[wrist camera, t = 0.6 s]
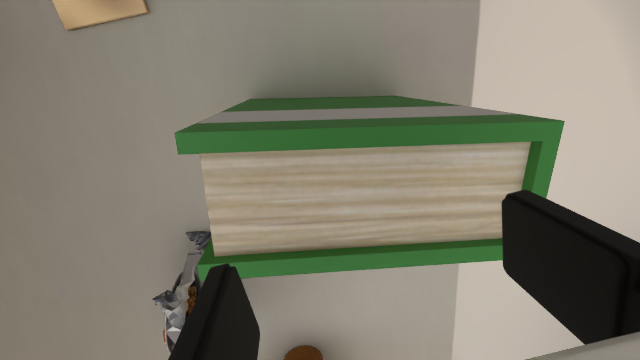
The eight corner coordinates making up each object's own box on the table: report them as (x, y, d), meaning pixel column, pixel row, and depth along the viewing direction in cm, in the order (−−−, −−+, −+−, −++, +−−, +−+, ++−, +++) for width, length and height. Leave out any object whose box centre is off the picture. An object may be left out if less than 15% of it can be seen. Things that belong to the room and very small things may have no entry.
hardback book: (255, 160, 38) (199, 280, 15) (249, 99, 35) (174, 133, 13) (392, 154, 39) (532, 258, 16) (396, 95, 37) (564, 121, 14)
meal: (181, 232, 40) (131, 300, 27) (214, 231, 40) (179, 298, 28) (194, 322, 45) (157, 415, 32) (224, 320, 45) (198, 412, 33)
